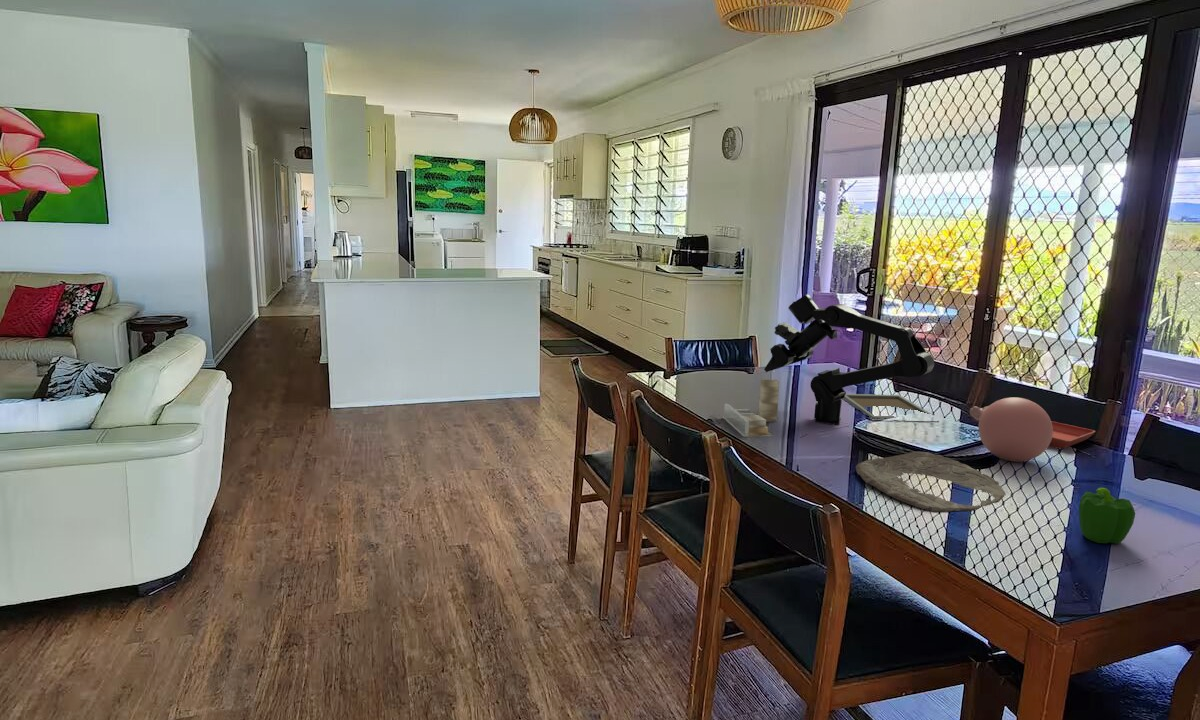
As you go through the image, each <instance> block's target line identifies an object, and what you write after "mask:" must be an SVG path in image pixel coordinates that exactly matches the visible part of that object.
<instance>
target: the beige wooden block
mask: <svg viewBox="0 0 1200 720" xmlns="http://www.w3.org/2000/svg"><path fill="white" fill-rule="evenodd" d="M780 383H781V382H780V380H777V379H760V389H759V403H758V415H759V416H760V417H762V418H764V419H765V420H766V422H777V420H778V411H779V410H778V408H779V407H778V406H779V395H780V394H779V393H780Z"/></svg>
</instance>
